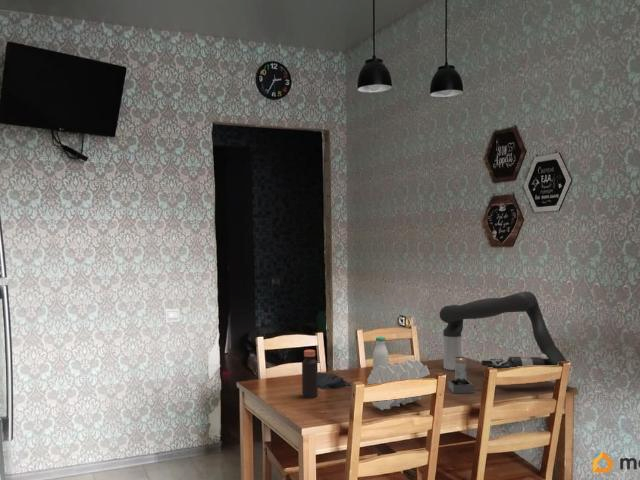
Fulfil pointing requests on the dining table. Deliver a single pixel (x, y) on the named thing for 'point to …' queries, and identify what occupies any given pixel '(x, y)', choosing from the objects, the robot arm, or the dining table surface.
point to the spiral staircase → (397, 373)
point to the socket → (461, 387)
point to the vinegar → (309, 375)
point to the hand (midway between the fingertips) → (484, 365)
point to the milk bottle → (380, 353)
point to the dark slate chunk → (330, 381)
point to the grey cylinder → (460, 370)
